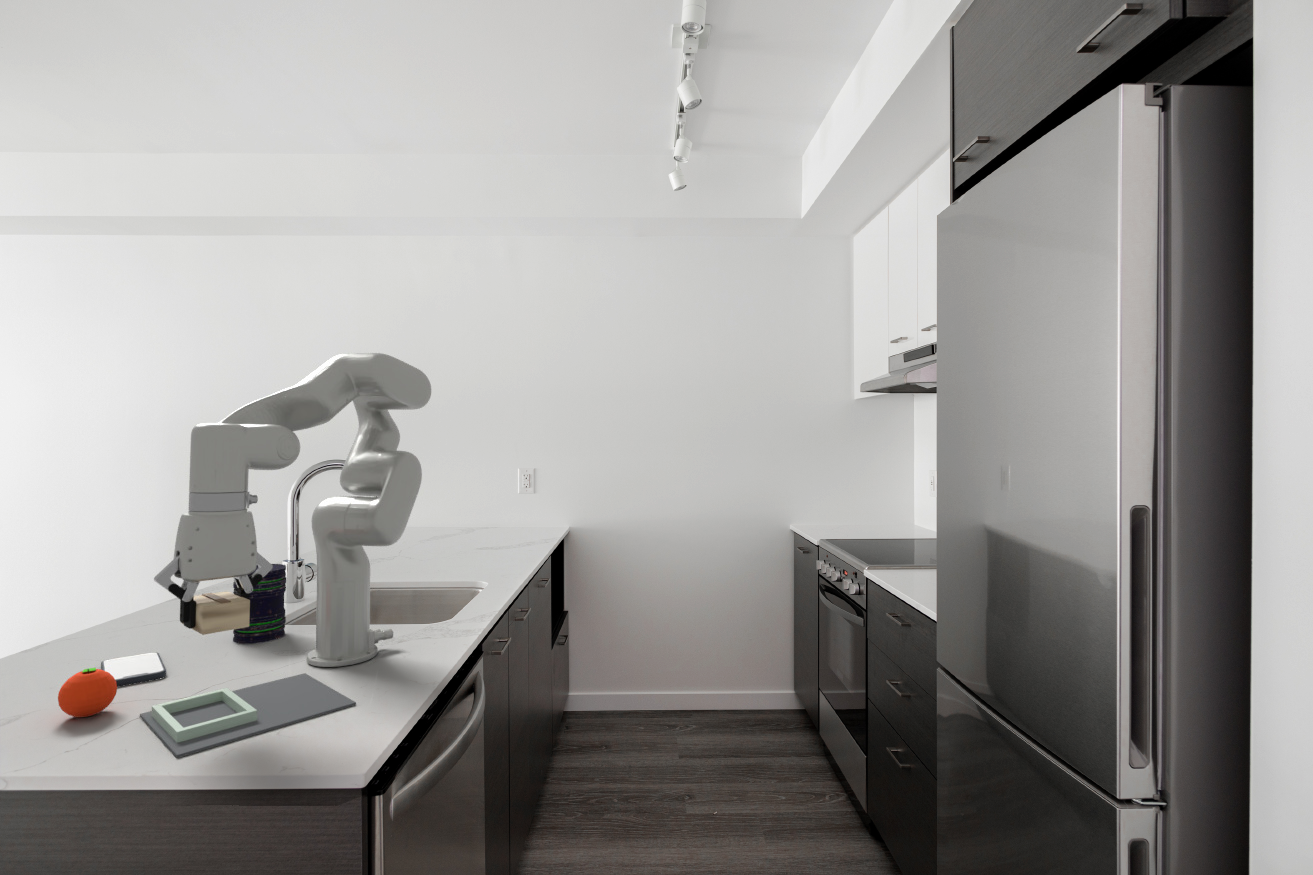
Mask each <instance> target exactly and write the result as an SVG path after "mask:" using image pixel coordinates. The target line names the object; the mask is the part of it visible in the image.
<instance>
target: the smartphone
mask: <svg viewBox="0 0 1313 875" xmlns="http://www.w3.org/2000/svg"><path fill="white" fill-rule="evenodd" d="M100 668H101V670H104V671H106V672H108V673H110V674H111V675H112V676H113V677H114V679H115V680H116V683H117V688H118V686H120V687H124V686H123V685H125V686H129V684H131V685H134V683H136V684H140V682H142V683H146V682H145V681H147V682H150V681H149V680H152V681H156V679H158V680H161V679H160V678H162V679H164V678H166V677H167V668H166V666H165V664H164V663H163V660H162V657H161V656H160V653H159V652H157V651H156V652H145V653H141V654H134V655H128V656H121V657H116V658H110V659H106V660H105V659H104V660H103V661H101V663H100ZM165 676H166V677H165ZM163 677H164V678H163Z"/></svg>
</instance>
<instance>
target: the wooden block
mask: <svg viewBox="0 0 1313 875" xmlns="http://www.w3.org/2000/svg"><path fill="white" fill-rule="evenodd" d="M194 601H196V625H195V627H194V628H191V629H192V631H195V632H196V633H199V634H200V635H202V636H203V635H209V634H216V633H222V632H226V631H232V630H233V629H239V628H245V627H249V617H250V600H248V599H246V598H243V597H240V596H237V595H235V594H234V593H233V592H230V591H227V590H226V591H219V592H208V593H207V592H206V593H202V594H196V595H194ZM181 624H182V625H184V623H181Z"/></svg>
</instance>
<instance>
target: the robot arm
mask: <svg viewBox="0 0 1313 875" xmlns="http://www.w3.org/2000/svg"><path fill="white" fill-rule="evenodd" d="M431 396H432V385H431V382H430V379H429V378H428V376H427V375H426V373H424V372H423V370H421V369H419V368H417V367H415V366H413V365H411V364H409V363H407V362H405V361H403V360H402V359H401V360H400V359H399V358H397V357H394V356H392V355H389V354H386V353H382V352H354V353H352V352H351V353H349V352H348V353H340V354H338V355H334V356H333V357H331V358H330V359H329V360H327V361H326V362H324V363H322V365H320V366H318V367H317V369H315V370H313V371H312V372H311V373H309V375H307V376H306V377H305V378H303V379H302V380H300V381H299V382H298V383H296V384H295V385H293V386H290V387H287V388H285V389H282V390H280V391H277V392H275V393H271V394H270V395H267V396H264V397H262V398H259V399H257V400H254V401H252V402H250V403H247V404H245V405H243V406H241V407H239V408H237V409H236V410H234V411H233V412H232V413H230V414H228V415H227V416H226V417H225V418H223V419H221V420H220V421H219V422H205V423H198V424H196V425H195V426H194V427H193V428H192V429H191V434H190V452H189V453H190V454H189V459H190V460H189V479H188V480H189V481H188V482H189V486H188V492H189V493H188V512H186V513H182V514H181V516H180V518H179V523H178V527H177V530H176V531H177V532H176V536H175V543H174V550H173V551H174V552H173V559H172V560H171V561H170V562H169V563H168V564H167V565H166V566H165V567H164V568H163V569H162V570H160V571H159V572H158V573H157V574H156V575H155V576H154V577H153V580H154V582H155V583H157V584H158V585H160V586H161V587H162V588H164V589H165V590H166V591H167V592H169V593H171V594H172V595H173V596H174V597H176V598H177V599H178V600H180V601H179V603H180V604H179V605H180V606H179V621H180V623H181V624H182V623H184V624H183V626H184V627H186V628H188V629H191V628H194V627H195V625H196V601H194V596H195V593H196V591H197V589H198V587H199V585H200V583H201V582H205V581H206V582H207V581H214V580H215V581H216V580H220V579H222V580H223V579H224V580H225V579H231V578H233V581H234V580H235V582H236V585H237V587H238V588H237V591H235V593H233V594H235V595H237V596H240V597H243V598H246V599H248V600H249V596H250V593H251V592H252V591H253V588H254V587H255V586H256V585H257V584H258V583H259V582H260V581H261V580H262V578H263V577H264V576H265V575H266V574H267V573H268V572H269V571H270V570H271V569H272V568H273V565H272V564H273V563H271V562H269V561H268V560H267V559H266V558H265V557H263V556H262V554H260V553H259V552H258V544H257V534H256V533H257V532H256V528H255V527H256V526H255V521H254V517H253V513H252V511H250V510H248V509H250V505H252V504H258V499H259V498H258V495H257V494H254V495H253V494H251V493H250V491H249V472H250V471H249V470H254V471H277V470H282V469H285V468H286V467H289V466H291V465H292V464H293V463H295V462H296V460H298V457H299V456H300V452H301V442H300V440H299V437H298V436H297V434H296V433H295V432H296V431H297V432H298V431H302V430H303V431H304V430H307V429H311V428H315V427H318V426H321V425H324V424H327V423H328V422H330V421H331V420H332V419H334V417H336V416H337V415H338V414H339V413H340V412H341V411H342V410H344V408H346V407H347V406H348V405H349V404H350V403H351V402H352V403H353V406H354V409H355V411H356V412H355V413H356V415H357V419H358V428H357V429H358V431H357V433H356V436H355V439H354V441H353V443H352V446H351V448H350V449H349V452H348V454H347V457H346V459H345V461H344V464H343V465H342V469H341V471H340V475H339V476H340V477H339V484H340V486H341V488H342V490H343V491H345V492H346V493H348V494H351V495H342V496H341V495H340V496H337V495H336V496H330V497H328V498H326V499H323V500H322V501H321V502H319V503H318V504H317V505H316V507H315V508H314V510H313V512H312V516H311V530H312V535H313V539H314V545H315V552H316V607H315V609H316V611H315V612H316V613H315V615H316V616H315V617H316V618H315V619H316V620H315V626H316V627H315V648H314V649H312V650H310V651H309V652H308V653H307V654H306V663H307V664H309V665H311V666H313V667H321V668H334V667H335V668H337V667H339V668H340V667H346V666H351V665H356V664H357V665H358V664H361V663H363V662H367V661H369V660H371V659H373V658H374V657H376V656H377V655H378V651H379V650H378V649H379V648H378V646H377V645H376V644H378V643H379V641H386V640H390V639H393V638H394V630H393V629H392V628H390V629H389V628H388V629H384V630H381V629H380V628H379V629H371V628H370V624H371V622H370V619H371V618H370V617H371V615H370V614H371V611H370V610H371V609H370V608H371V564H370V559H369V557H368V554H367V552H366V551H365V549H364V547H389V546H392V545H394V544H395V543H397V542H398V541H399V540H400V539H401V537H402V536H403V534H404V532H405V530H406V527H407V524H408V523H409V520H410V516H411V514H412V511H413V508H414V506H415V502H416V499H417V497H418V494H419V491H420V488H421V484H422V479H423V478H422V477H423V470H422V464H421V462H420V459H418V457H417V456H416V455H415V454H414V453H412V452H409V451H407V450H398V448H399V444H400V441H401V432H400V430H399V428H398V425H397V424H396V422H395V421H394V419H393V418H392V416H391V414H390V412H389V411H390V410H392V411H393V410H394V411H395V410H396V411H397V410H402V411H403V410H405V411H406V410H418V409H419V410H420V409H422V408H423V407H426V405H427V404H428V403H429V402H430V399H431ZM352 495H353V496H352ZM257 565H258V569H257V570H256V566H257ZM255 570H256V572H255V573H253V572H254V571H255ZM251 573H253V574H251ZM249 574H251V575H250V576H249V577H248V575H249ZM172 576H174V577H176V578H178V579H182V580H183V581H182V584H181V586H180V585H179V584H177V583H176V582H174V581H173V580H172V579H171V578H172Z"/></svg>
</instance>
